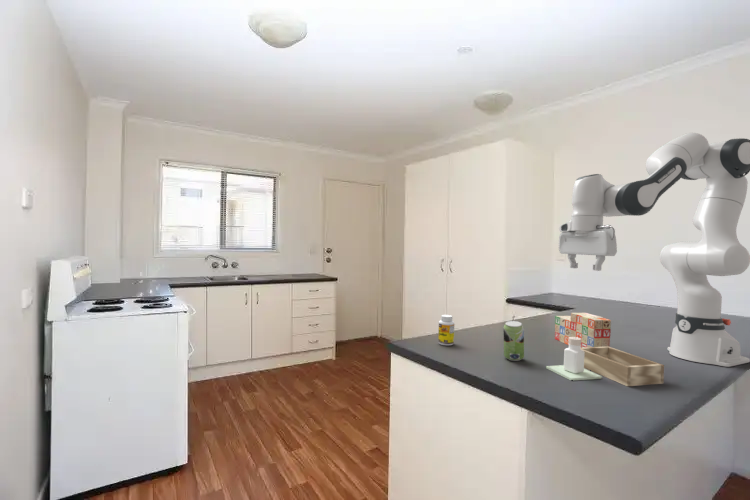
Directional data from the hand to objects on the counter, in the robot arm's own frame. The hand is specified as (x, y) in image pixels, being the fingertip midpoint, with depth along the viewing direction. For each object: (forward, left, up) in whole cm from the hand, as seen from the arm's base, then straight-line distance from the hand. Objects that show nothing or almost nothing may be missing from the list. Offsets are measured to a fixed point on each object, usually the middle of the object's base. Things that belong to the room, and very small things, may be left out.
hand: (584, 269), depth 118 cm
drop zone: (+12, +10, -29) cm, 33 cm away
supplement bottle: (+36, -24, -29) cm, 52 cm away
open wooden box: (-1, +12, -29) cm, 31 cm away
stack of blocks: (-12, -14, -30) cm, 35 cm away
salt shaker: (+12, +10, -29) cm, 33 cm away
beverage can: (+22, -4, -29) cm, 37 cm away
